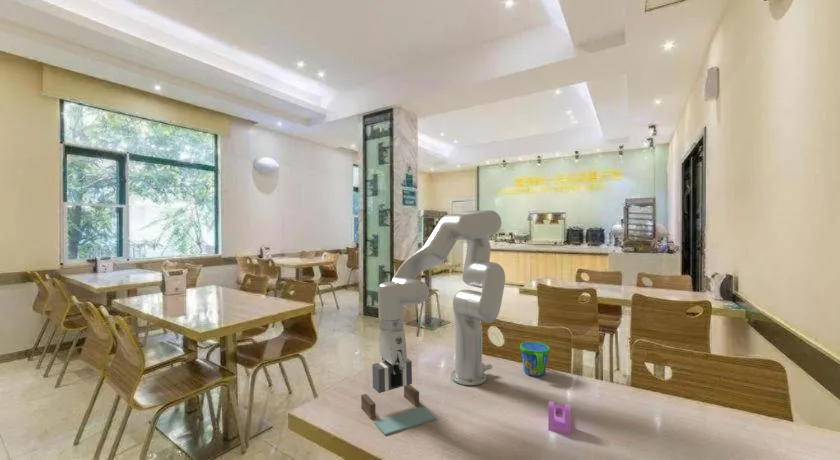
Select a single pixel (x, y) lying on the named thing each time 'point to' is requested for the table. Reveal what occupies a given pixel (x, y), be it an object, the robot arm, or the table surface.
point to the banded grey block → (389, 375)
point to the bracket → (559, 418)
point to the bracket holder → (370, 406)
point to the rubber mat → (404, 420)
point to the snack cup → (534, 358)
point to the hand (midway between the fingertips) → (392, 382)
